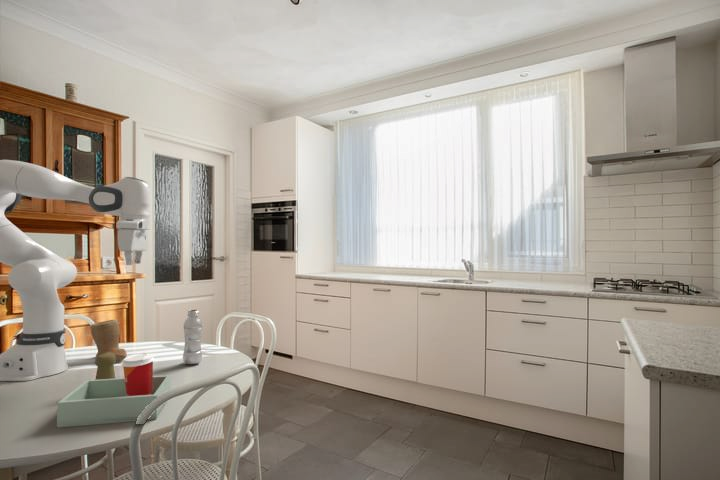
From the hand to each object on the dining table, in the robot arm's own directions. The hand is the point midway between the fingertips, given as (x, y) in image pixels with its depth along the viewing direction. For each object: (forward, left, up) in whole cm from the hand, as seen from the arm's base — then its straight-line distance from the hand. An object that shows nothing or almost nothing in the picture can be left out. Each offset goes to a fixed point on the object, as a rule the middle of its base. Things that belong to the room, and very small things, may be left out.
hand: (133, 264), depth 133 cm
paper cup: (+12, -31, -38) cm, 50 cm away
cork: (-2, -15, -38) cm, 41 cm away
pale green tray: (+7, -31, -38) cm, 49 cm away
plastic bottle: (+19, +8, -38) cm, 43 cm away
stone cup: (-13, +20, -38) cm, 45 cm away
